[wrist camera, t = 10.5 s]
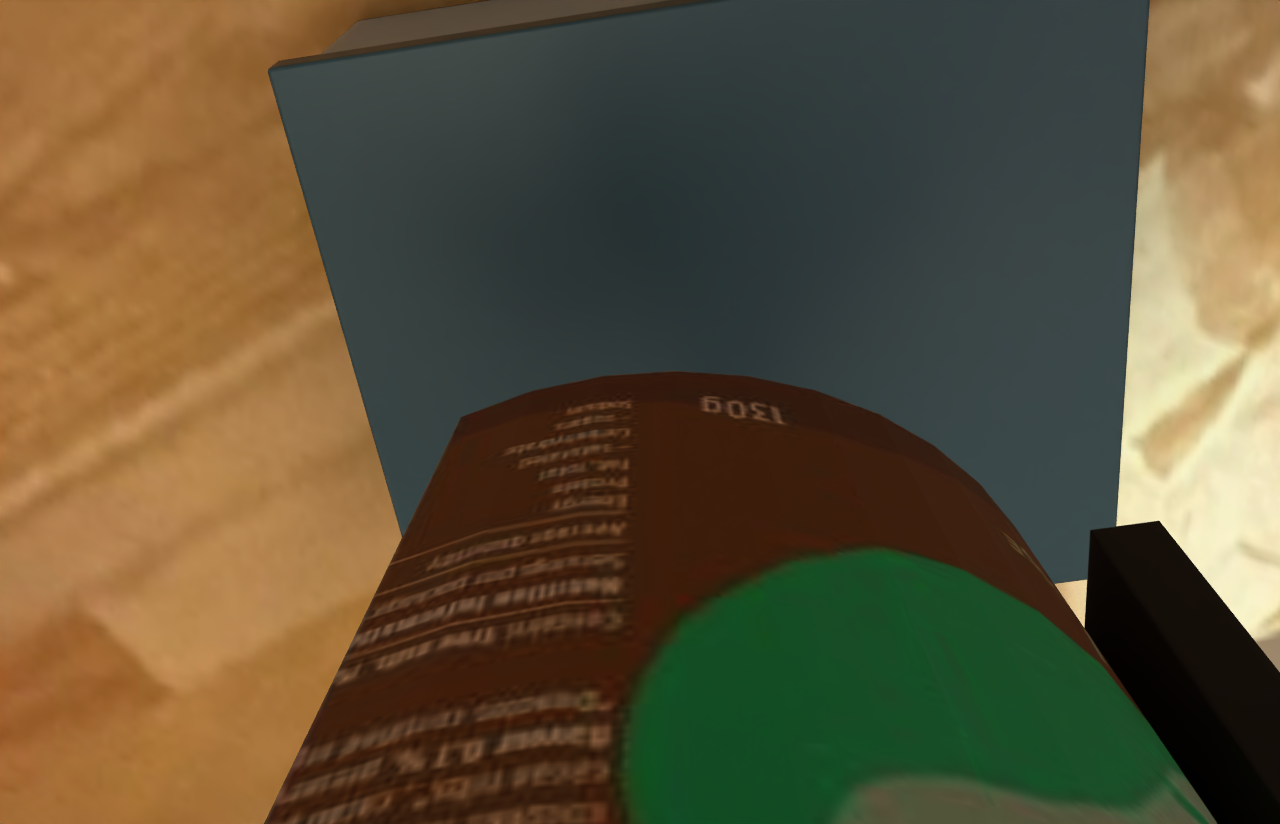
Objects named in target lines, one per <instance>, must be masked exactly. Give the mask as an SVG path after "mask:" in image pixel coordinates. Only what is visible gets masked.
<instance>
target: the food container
mask: <svg viewBox="0 0 1280 824" xmlns="http://www.w3.org/2000/svg"><path fill="white" fill-rule="evenodd" d="M264 824H1217V822H1216V821H1215V819H1214V818H1213V816H1212V815H1211V813H1210V812H1209V810H1208V809H1207V807H1206V806H1205V805H1204V803H1203V802H1202V800H1201V799H1200V797H1199V796H1198V794H1197V793H1196V791H1195V790H1194V788H1193V787H1192V785H1191V784H1190V783H1189V781H1188V780H1187V778H1186V777H1185V775H1184V774H1183V772H1182V771H1181V769H1180V768H1179V766H1178V765H1177V763H1176V762H1175V761H1174V759H1173V758H1172V756H1171V755H1170V753H1169V752H1168V750H1167V749H1166V747H1165V746H1164V744H1163V743H1162V741H1161V740H1160V739H1159V737H1158V736H1157V734H1156V733H1155V731H1154V730H1153V728H1152V727H1151V725H1150V724H1149V722H1148V721H1147V719H1146V718H1145V717H1144V715H1143V714H1142V712H1141V711H1140V709H1139V708H1138V706H1137V705H1136V703H1135V702H1134V700H1133V699H1132V697H1131V696H1130V695H1129V693H1128V692H1127V690H1126V689H1125V687H1124V686H1123V684H1122V683H1121V681H1120V680H1119V678H1118V677H1117V675H1116V674H1115V673H1114V671H1113V670H1112V668H1111V667H1110V665H1109V664H1108V662H1107V661H1106V659H1105V658H1104V656H1103V655H1102V653H1101V652H1100V650H1099V649H1098V648H1097V646H1096V645H1095V643H1094V642H1093V640H1092V639H1091V637H1090V636H1089V634H1088V633H1087V631H1086V630H1085V628H1084V627H1083V626H1082V624H1081V623H1080V621H1079V620H1078V618H1077V617H1076V615H1075V614H1074V612H1073V611H1072V609H1071V608H1070V606H1069V605H1068V604H1067V602H1066V601H1065V599H1064V598H1063V596H1062V595H1061V593H1060V592H1059V590H1058V589H1057V587H1056V586H1055V584H1054V583H1053V582H1052V580H1051V579H1050V577H1049V576H1048V574H1047V573H1046V571H1045V570H1044V568H1043V567H1042V565H1041V564H1040V562H1039V561H1038V560H1037V558H1036V557H1035V555H1034V554H1033V552H1032V551H1031V549H1030V548H1029V546H1028V545H1027V543H1026V542H1025V540H1024V539H1023V538H1022V536H1021V535H1020V533H1019V532H1018V530H1017V529H1016V527H1015V526H1014V525H1013V523H1012V522H1011V521H1010V520H1009V519H1008V517H1007V516H1006V515H1005V514H1004V512H1003V511H1002V510H1001V509H1000V508H999V506H998V505H997V504H996V503H995V501H994V500H993V499H992V498H991V497H990V495H989V494H988V493H987V492H986V491H985V489H984V488H983V487H982V486H981V484H980V483H979V482H977V481H976V480H975V479H974V478H973V477H971V476H970V475H969V474H968V473H967V472H965V471H964V470H963V469H962V468H961V467H959V466H958V465H957V464H956V463H955V462H953V461H952V460H951V459H950V458H949V457H947V456H946V455H945V454H944V453H943V452H941V451H940V450H939V449H938V448H937V447H935V446H934V445H932V444H931V443H929V442H927V441H925V440H924V439H922V438H920V437H918V436H917V435H915V434H913V433H911V432H910V431H908V430H906V429H904V428H903V427H901V426H899V425H897V424H896V423H894V422H892V421H891V420H889V419H887V418H885V417H884V416H882V415H880V414H878V413H875V412H872V411H870V410H867V409H865V408H862V407H859V406H857V405H854V404H851V403H849V402H846V401H843V400H841V399H838V398H835V397H833V396H830V395H827V394H825V393H822V392H819V391H817V390H812V389H807V388H803V387H798V386H793V385H789V384H784V383H779V382H775V381H770V380H765V379H761V378H756V377H751V376H744V375H730V374H715V373H701V372H686V371H665V372H650V373H636V374H621V375H607V376H600V377H595V378H590V379H585V380H580V381H576V382H571V383H566V384H561V385H557V386H552V387H547V388H542V389H537V390H533V391H530V392H527V393H524V394H522V395H519V396H516V397H514V398H511V399H508V400H505V401H503V402H500V403H497V404H494V405H492V406H489V407H486V408H484V409H481V410H478V411H475V412H473V413H470V414H467V415H465V416H462V417H460V419H459V422H458V424H457V426H456V428H455V430H454V432H453V434H452V436H451V438H450V440H449V442H448V444H447V446H446V448H445V451H444V453H443V455H442V457H441V459H440V461H439V463H438V465H437V467H436V469H435V471H434V473H433V475H432V477H431V479H430V482H429V484H428V486H427V488H426V490H425V492H424V494H423V496H422V498H421V500H420V502H419V504H418V506H417V508H416V511H415V513H414V515H413V517H412V519H411V521H410V523H409V525H408V527H407V529H406V531H405V533H404V535H403V537H402V539H401V542H400V544H399V546H398V548H397V550H396V552H395V554H394V556H393V558H392V560H391V562H390V564H389V566H388V568H387V570H386V573H385V575H384V577H383V579H382V581H381V583H380V585H379V587H378V589H377V591H376V593H375V595H374V597H373V599H372V602H371V604H370V606H369V608H368V610H367V612H366V614H365V616H364V618H363V620H362V622H361V624H360V626H359V628H358V630H357V633H356V635H355V637H354V639H353V641H352V643H351V645H350V647H349V649H348V651H347V653H346V655H345V657H344V659H343V662H342V664H341V666H340V668H339V670H338V672H337V674H336V676H335V678H334V680H333V682H332V684H331V686H330V688H329V690H328V693H327V695H326V697H325V699H324V701H323V703H322V705H321V707H320V709H319V711H318V713H317V715H316V717H315V719H314V722H313V724H312V726H311V728H310V730H309V732H308V734H307V736H306V738H305V740H304V742H303V744H302V746H301V748H300V750H299V753H298V755H297V757H296V759H295V761H294V763H293V765H292V767H291V769H290V771H289V773H288V775H287V777H286V779H285V781H284V784H283V786H282V788H281V790H280V792H279V794H278V796H277V798H276V800H275V802H274V804H273V806H272V808H271V810H270V813H269V815H268V817H267V819H266V821H265V823H264Z"/></svg>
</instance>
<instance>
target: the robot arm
mask: <svg viewBox="0 0 1280 824" xmlns="http://www.w3.org/2000/svg"><path fill="white" fill-rule="evenodd" d="M1085 630H1086V631H1087V633H1088V634H1089V636H1090V637H1091V639H1092V640H1093V642H1094V643H1095V645H1096V646H1097V648H1098V649H1099V650H1100V652H1101V653H1102V655H1103V656H1104V658H1105V659H1106V661H1107V662H1108V664H1109V665H1110V667H1111V668H1112V670H1113V671H1114V673H1115V674H1116V675H1117V677H1118V678H1119V680H1120V681H1121V683H1122V684H1123V686H1124V687H1125V689H1126V690H1127V692H1128V693H1129V695H1130V696H1131V697H1132V699H1133V700H1134V702H1135V703H1136V705H1137V706H1138V708H1139V709H1140V711H1141V712H1142V714H1143V715H1144V717H1145V718H1146V719H1147V721H1148V722H1149V724H1150V725H1151V727H1152V728H1153V730H1154V731H1155V733H1156V734H1157V736H1158V737H1159V739H1160V740H1161V741H1162V743H1163V744H1164V746H1165V747H1166V749H1167V750H1168V752H1169V753H1170V755H1171V756H1172V758H1173V759H1174V761H1175V762H1176V763H1177V765H1178V766H1179V768H1180V769H1181V771H1182V772H1183V774H1184V775H1185V777H1186V778H1187V780H1188V781H1189V783H1190V784H1191V785H1192V787H1193V788H1194V790H1195V791H1196V793H1197V794H1198V796H1199V797H1200V799H1201V800H1202V802H1203V803H1204V805H1205V806H1206V807H1207V809H1208V810H1209V812H1210V813H1211V815H1212V816H1213V818H1214V819H1215V821H1216V822H1217V824H1280V672H1279V671H1278V670H1277V668H1276V667H1275V666H1274V665H1273V663H1272V662H1271V661H1270V660H1269V658H1268V657H1267V656H1266V655H1265V653H1264V652H1263V651H1262V650H1261V648H1260V647H1259V646H1258V644H1257V643H1256V642H1255V641H1254V639H1253V638H1252V637H1251V636H1250V634H1249V633H1248V632H1247V631H1246V629H1245V628H1244V627H1243V626H1242V624H1241V623H1240V622H1239V621H1238V619H1237V618H1236V617H1235V616H1234V614H1233V613H1232V612H1231V611H1230V609H1229V608H1228V607H1227V605H1226V604H1225V603H1224V602H1223V600H1222V599H1221V598H1220V597H1219V595H1218V594H1217V593H1216V592H1215V590H1214V589H1213V588H1212V587H1211V585H1210V584H1209V583H1208V582H1207V580H1206V579H1205V578H1204V577H1203V575H1202V574H1201V573H1200V572H1199V570H1198V569H1197V568H1196V566H1195V565H1194V564H1193V563H1192V561H1191V560H1190V559H1189V558H1188V556H1187V555H1186V554H1185V553H1184V551H1183V550H1182V549H1181V548H1180V546H1179V545H1178V544H1177V543H1176V541H1175V540H1174V539H1173V538H1172V536H1171V535H1170V534H1169V533H1168V531H1167V530H1166V529H1165V527H1164V526H1163V525H1162V524H1161V522H1160V521H1154V522H1147V523H1139V524H1132V525H1124V526H1117V527H1109V528H1102V529H1094V530H1090V542H1089V560H1088V577H1087V595H1086V613H1085Z"/></svg>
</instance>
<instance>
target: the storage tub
mask: <svg viewBox="0 0 1280 824" xmlns="http://www.w3.org/2000/svg"><path fill="white" fill-rule="evenodd" d="M1149 3H1150V0H488V1H482V2H475V3H469V4H463V5H456V6H450V7H443V8H437V9H431V10H424V11H418V12H411V13H405V14H398V15H392V16H386V17H379V18H373V19H366V20H360V21H358V22H356V23H355V24H354V25H353V26H352V27H351V28H350V29H348V30H347V31H346V32H345V33H344V34H343V35H342V36H341V37H339V38H338V39H337V40H336V41H335V42H334V43H333V44H331V45H330V46H329V47H328V48H327V49H326V50H325V51H324V52H322V53H321V54H320V55H313V56H307V57H300V58H294V59H288V60H281V61H278V62H277V63H275V64H274V65H273V66H272V67H270V68H269V69H268V74H269V78H270V81H271V85H272V88H273V91H274V95H275V98H276V102H277V105H278V109H279V112H280V116H281V119H282V123H283V126H284V130H285V133H286V137H287V140H288V143H289V147H290V150H291V154H292V157H293V161H294V164H295V168H296V171H297V175H298V178H299V182H300V185H301V188H302V192H303V195H304V199H305V202H306V206H307V209H308V213H309V216H310V220H311V223H312V227H313V230H314V233H315V237H316V240H317V244H318V247H319V251H320V254H321V258H322V261H323V265H324V268H325V272H326V275H327V278H328V282H329V285H330V289H331V292H332V296H333V299H334V303H335V306H336V310H337V313H338V317H339V320H340V323H341V327H342V330H343V334H344V337H345V341H346V344H347V348H348V351H349V355H350V358H351V362H352V365H353V368H354V372H355V375H356V379H357V382H358V386H359V389H360V393H361V396H362V400H363V403H364V407H365V410H366V413H367V417H368V420H369V424H370V427H371V431H372V434H373V438H374V441H375V445H376V448H377V452H378V455H379V458H380V462H381V465H382V469H383V472H384V476H385V479H386V483H387V486H388V490H389V493H390V497H391V500H392V503H393V507H394V510H395V514H396V517H397V521H398V524H399V528H400V531H401V535H402V537H403V535H404V533H405V531H406V529H407V527H408V525H409V523H410V521H411V519H412V517H413V515H414V513H415V511H416V508H417V506H418V504H419V502H420V500H421V498H422V496H423V494H424V492H425V490H426V488H427V486H428V484H429V482H430V479H431V477H432V475H433V473H434V471H435V469H436V467H437V465H438V463H439V461H440V459H441V457H442V455H443V453H444V451H445V448H446V446H447V444H448V442H449V440H450V438H451V436H452V434H453V432H454V430H455V428H456V426H457V424H458V422H459V419H460V417H462V416H465V415H467V414H470V413H473V412H475V411H478V410H481V409H484V408H486V407H489V406H492V405H494V404H497V403H500V402H503V401H505V400H508V399H511V398H514V397H516V396H519V395H522V394H524V393H527V392H530V391H533V390H537V389H542V388H547V387H552V386H557V385H561V384H566V383H571V382H576V381H580V380H585V379H590V378H595V377H600V376H607V375H621V374H636V373H650V372H665V371H686V372H701V373H715V374H730V375H744V376H751V377H756V378H761V379H765V380H770V381H775V382H779V383H784V384H789V385H793V386H798V387H803V388H807V389H812V390H817V391H819V392H822V393H825V394H827V395H830V396H833V397H835V398H838V399H841V400H843V401H846V402H849V403H851V404H854V405H857V406H859V407H862V408H865V409H867V410H870V411H872V412H875V413H878V414H880V415H882V416H884V417H885V418H887V419H889V420H891V421H892V422H894V423H896V424H897V425H899V426H901V427H903V428H904V429H906V430H908V431H910V432H911V433H913V434H915V435H917V436H918V437H920V438H922V439H924V440H925V441H927V442H929V443H931V444H932V445H934V446H935V447H937V448H938V449H939V450H940V451H941V452H943V453H944V454H945V455H946V456H947V457H949V458H950V459H951V460H952V461H953V462H955V463H956V464H957V465H958V466H959V467H961V468H962V469H963V470H964V471H965V472H967V473H968V474H969V475H970V476H971V477H973V478H974V479H975V480H976V481H977V482H979V483H980V484H981V486H982V487H983V488H984V489H985V491H986V492H987V493H988V494H989V495H990V497H991V498H992V499H993V500H994V501H995V503H996V504H997V505H998V506H999V508H1000V509H1001V510H1002V511H1003V512H1004V514H1005V515H1006V516H1007V517H1008V519H1009V520H1010V521H1011V522H1012V523H1013V525H1014V526H1015V527H1016V529H1017V530H1018V532H1019V533H1020V535H1021V536H1022V538H1023V539H1024V540H1025V542H1026V543H1027V545H1028V546H1029V548H1030V549H1031V551H1032V552H1033V554H1034V555H1035V557H1036V558H1037V560H1038V561H1039V562H1040V564H1041V565H1042V567H1043V568H1044V570H1045V571H1046V573H1047V574H1048V576H1049V577H1050V579H1051V580H1052V582H1053V583H1054V584H1056V583H1064V582H1071V581H1079V580H1086V579H1087V577H1088V560H1089V542H1090V530H1094V529H1102V528H1109V527H1116V521H1117V505H1118V489H1119V474H1120V458H1121V442H1122V427H1123V411H1124V395H1125V379H1126V364H1127V348H1128V332H1129V317H1130V301H1131V285H1132V270H1133V254H1134V238H1135V222H1136V207H1137V191H1138V175H1139V160H1140V144H1141V128H1142V113H1143V97H1144V81H1145V65H1146V50H1147V34H1148V18H1149Z"/></svg>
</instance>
